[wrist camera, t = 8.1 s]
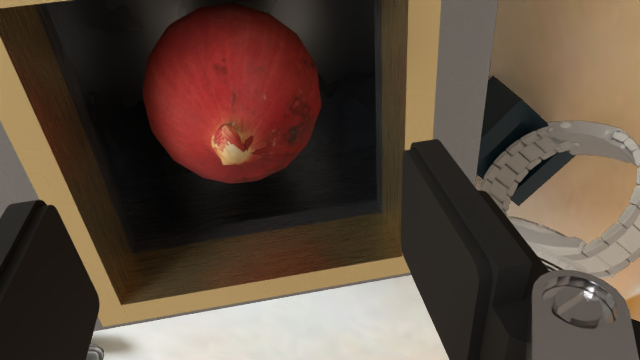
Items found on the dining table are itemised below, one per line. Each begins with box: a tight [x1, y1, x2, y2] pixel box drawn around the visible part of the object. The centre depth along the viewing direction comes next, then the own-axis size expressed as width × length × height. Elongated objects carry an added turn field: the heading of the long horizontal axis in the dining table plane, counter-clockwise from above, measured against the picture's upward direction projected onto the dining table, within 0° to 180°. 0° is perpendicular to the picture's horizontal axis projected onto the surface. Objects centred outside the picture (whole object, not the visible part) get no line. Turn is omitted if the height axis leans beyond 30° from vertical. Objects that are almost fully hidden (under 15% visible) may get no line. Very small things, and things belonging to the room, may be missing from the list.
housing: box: [0, 0, 498, 331], centre depth 18 cm, size 16×16×12 cm
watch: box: [476, 76, 640, 279], centre depth 25 cm, size 6×8×11 cm
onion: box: [142, 3, 321, 184], centre depth 16 cm, size 6×6×8 cm
